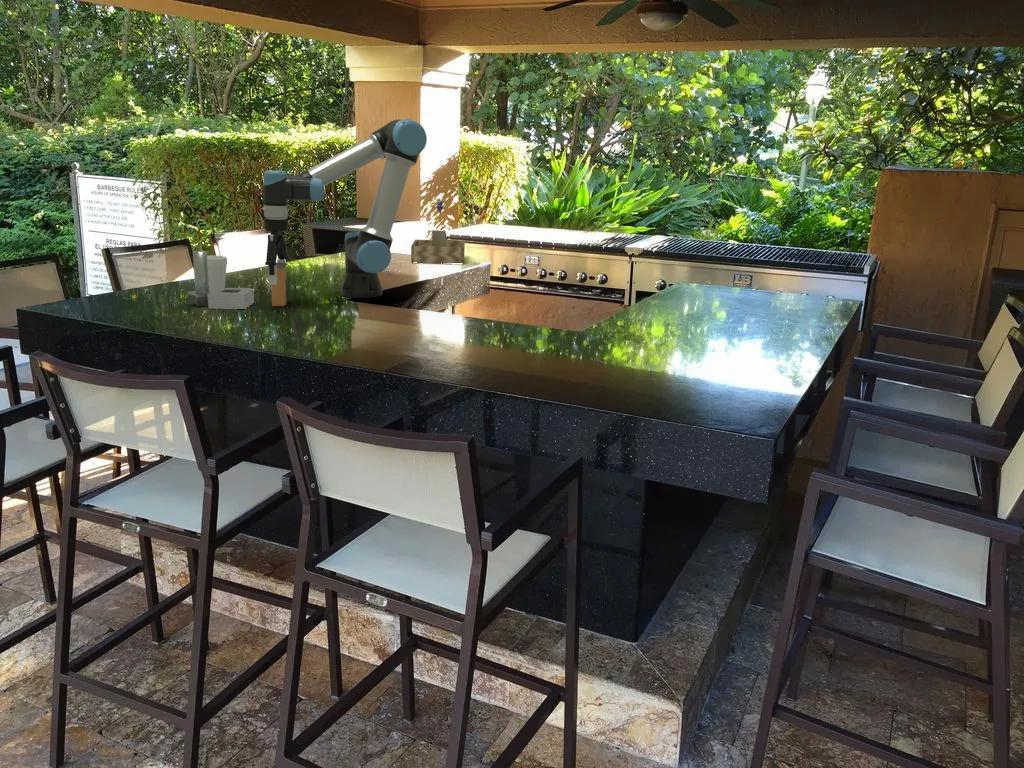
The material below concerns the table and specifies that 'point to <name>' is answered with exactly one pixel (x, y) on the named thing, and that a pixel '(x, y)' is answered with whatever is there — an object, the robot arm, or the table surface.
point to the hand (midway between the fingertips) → (277, 281)
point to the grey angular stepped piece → (219, 296)
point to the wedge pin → (279, 286)
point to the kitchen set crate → (437, 252)
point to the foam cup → (216, 271)
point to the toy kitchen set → (437, 239)
